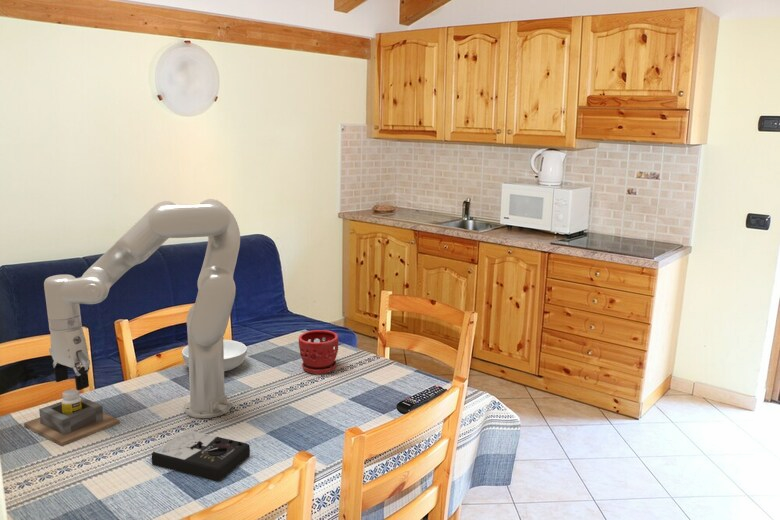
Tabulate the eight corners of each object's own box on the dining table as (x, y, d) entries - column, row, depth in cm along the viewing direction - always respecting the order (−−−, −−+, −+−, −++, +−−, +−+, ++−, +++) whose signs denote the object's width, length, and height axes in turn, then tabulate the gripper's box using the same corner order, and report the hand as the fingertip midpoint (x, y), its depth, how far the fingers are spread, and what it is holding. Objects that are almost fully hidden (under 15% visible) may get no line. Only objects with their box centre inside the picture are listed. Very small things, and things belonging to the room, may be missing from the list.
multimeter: (218, 483, 145) (218, 463, 144) (151, 466, 152) (149, 447, 151) (250, 457, 157) (250, 438, 156) (186, 442, 164) (186, 424, 163)
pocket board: (119, 423, 172) (118, 405, 171) (61, 446, 159) (60, 427, 158) (81, 406, 182) (80, 389, 181) (24, 426, 169) (22, 408, 168)
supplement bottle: (74, 426, 167) (72, 396, 166) (58, 424, 168) (56, 394, 167) (86, 418, 172) (84, 389, 170) (71, 416, 173) (69, 387, 171)
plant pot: (304, 361, 222) (304, 328, 219) (341, 364, 220) (342, 330, 218) (294, 375, 209) (293, 340, 207) (333, 378, 207) (333, 343, 205)
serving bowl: (238, 381, 203) (238, 360, 202) (173, 379, 203) (172, 358, 202) (253, 358, 223) (253, 339, 222) (194, 356, 224) (193, 337, 222)
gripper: (98, 324, 163) (104, 386, 167) (60, 313, 173) (67, 373, 176) (69, 332, 157) (77, 396, 161) (32, 320, 166) (40, 382, 170)
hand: (72, 384), depth 168 cm, fingers open, 9 cm apart
